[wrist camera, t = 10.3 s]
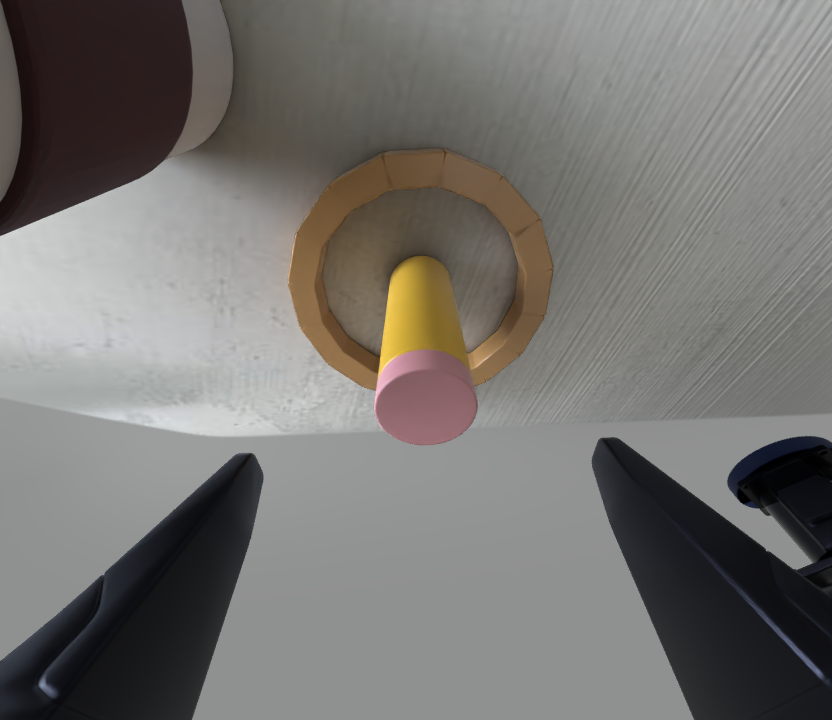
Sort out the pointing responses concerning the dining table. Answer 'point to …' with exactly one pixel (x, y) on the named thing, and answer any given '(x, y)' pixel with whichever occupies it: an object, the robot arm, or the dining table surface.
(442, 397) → the pencil stub
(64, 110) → the coffee cup
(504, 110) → the dining table surface
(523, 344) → the wooden ring
